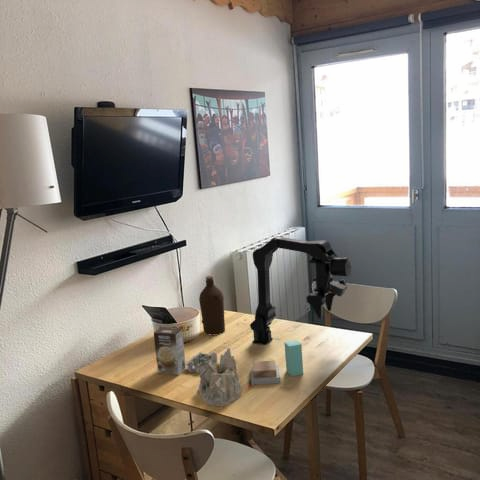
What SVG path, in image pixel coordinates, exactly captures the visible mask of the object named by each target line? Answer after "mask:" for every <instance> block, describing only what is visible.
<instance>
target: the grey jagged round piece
mask: <svg viewBox="0 0 480 480" xmlns="http://www.w3.org/2000/svg"><path fill="white" fill-rule="evenodd" d="M210 355H211V361H210V363H209V364H208V365H207V367H206V368H205V370H204V371H203V372H201V373H199V376H198V377H199V380H200V381H199V386H198V393H199V394H200V395H199V396H200V397H201V398H202V400H203V401H204V402H205V404H206V405H208V406H216V407H225V406H228V405H229V404H232V403H233V402H235V401H236V400H238V399H240V397H241V394H242V392H243V388H242V385H241V383H240V378H239V373H238V372H237V371H238V370H237V369H238V368H237V366H236V365H237V361H236V360H235V356H234V355H232V352H231V348H230V347H227V349H226V350H225V351H224V354H220V357H219V361H218V354H217V352H216V351H211V354H210Z"/></svg>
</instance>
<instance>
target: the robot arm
mask: <svg viewBox="0 0 480 480" xmlns="http://www.w3.org/2000/svg"><path fill="white" fill-rule="evenodd" d="M278 249H283V250H288V251H292V252H293V251H295V252H301V253H305V254H306V255H308V256H309V257H311V259H310V260H308V263H309V264H314V277H312V279H313V280H312V281H313V282H315V288H313V292H311V293H309V294H308V295H307V296H306V303H307V304H309V305H310V306H311V308H312V309H313V311H314V313H315V314H316V316H317V319H322V317H323V306H324V305H325V306H326V308H327V311H328V312H331V311H332V307H333V303H334V300H335V299H334V298H335V296H337V297H342V296H343V295H345V293H346V290H347V288H348V287H347V286H348V285H347V281H346V280H345V279H344V278H343V279H340V280H339V281H338V280H334V276H336V277H350V275H351V271H352V265H351V262H350V261H349V257H338V255H337V253H336V252H335V251H334V250H333V248H332V246H331V244H330V242H329V241H328V240H326V239H325V240H324V239H323V240H321V239H319V240H310V241H309V240H303V239H301V240H300V239H295V238H290V237H284V236H283V237H282V236H280V235H278V236H275V237H272V238H271V239H270V240H269V241H268V242H266V244H264V245H263V246H261V247H259V248H257V249H255V250H254V251H253V252H252V260H253V264H254V267H255V268H256V269H257V294H258V295H257V296H258V297H257V299H258V303H257V304H258V305H257V307H256V310H255V314H254V320H253V321H252V322H251V323H250V324H249V327H250V330H252V332H253V340H252V341H251V343H252V344H257V345H258V344H260V345H264V346H265V345H267V344H269V343H270V342H272V341H273V337H272V330H271V326H270V325H272V322H273V321H274V320H275V317H276V316H277V314H276V310H277V309H276V308H277V307H276V306H273V305H272V303H271V285H270V284H271V281H270V268H271V265H272V262H273V256H274V254H275V252H276V251H278Z"/></svg>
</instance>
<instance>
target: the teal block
mask: <svg viewBox="0 0 480 480" xmlns="http://www.w3.org/2000/svg"><path fill="white" fill-rule="evenodd" d="M302 351H303V346H302V343H301V342H300V341H298V340H297V339H293V340H288V341H284V354H285V369H286V371H285V372H287V374H289V375H290V377H293V376H294V377H295V376H298V375H303V374H304V365H303V352H302Z"/></svg>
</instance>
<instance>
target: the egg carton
mask: <svg viewBox="0 0 480 480" xmlns="http://www.w3.org/2000/svg"><path fill="white" fill-rule="evenodd" d="M210 361H211V354H207V353H203V352H201V351H200V352H199V353H198V354H197V355H195V356H193V357H192V358H190V360H187V361H185V365H186V367H187V370H188V373H192V372H196V374H201V373H202V372H203V371H204V370H205V368H206V367H207V365H208V364H209V363H210Z"/></svg>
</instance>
